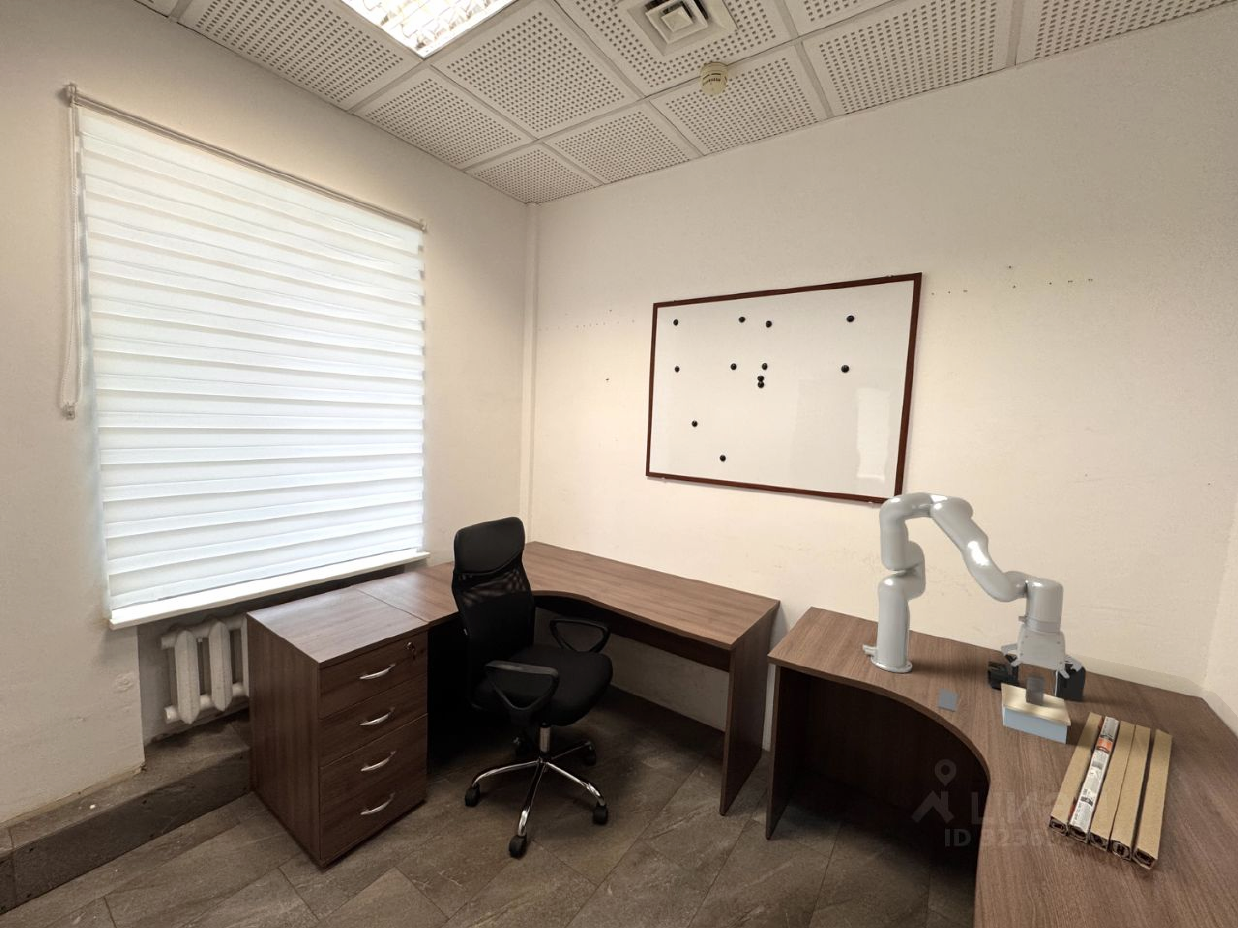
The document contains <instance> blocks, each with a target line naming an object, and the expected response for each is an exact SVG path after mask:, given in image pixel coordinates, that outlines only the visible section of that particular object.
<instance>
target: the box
mask: <svg viewBox="0 0 1238 928" xmlns="http://www.w3.org/2000/svg"><path fill="white" fill-rule="evenodd" d="M1001 714H1002V723H1003V727H1007V728H1011V729H1014V730H1016V731H1017V730H1018V731H1021V732H1024V733H1027V734H1030V735H1034V736H1037V737H1040V738H1044V739H1047V740H1051V741H1054V742H1058V743H1060V744H1061V743H1062V744H1064V745H1066V740H1067V731H1068V725H1065V724H1062V723H1058V722H1054V721H1051V720H1047V719H1044V718H1040V717H1036V716H1033V715H1029V714H1026V713H1022V712H1019V711H1015V710H1011V709H1008V708H1004V707H1003V701H1002V700H1001Z"/></svg>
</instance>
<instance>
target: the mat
mask: <svg viewBox="0 0 1238 928" xmlns="http://www.w3.org/2000/svg"><path fill="white" fill-rule="evenodd" d="M937 701H938V702H937V708H940V709H943V710H946V711H950V712H953V713H956V712H957V703H958V692H954V691H952V690H947V689H944V688H941V687H940V689H939V695H938V700H937Z"/></svg>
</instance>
